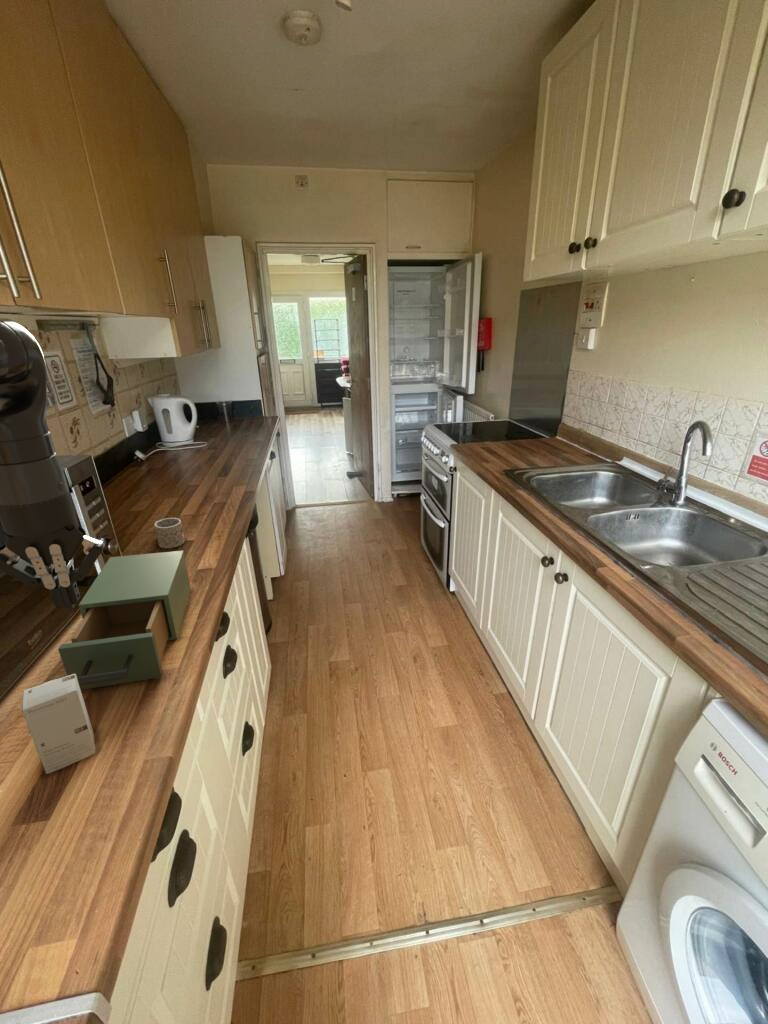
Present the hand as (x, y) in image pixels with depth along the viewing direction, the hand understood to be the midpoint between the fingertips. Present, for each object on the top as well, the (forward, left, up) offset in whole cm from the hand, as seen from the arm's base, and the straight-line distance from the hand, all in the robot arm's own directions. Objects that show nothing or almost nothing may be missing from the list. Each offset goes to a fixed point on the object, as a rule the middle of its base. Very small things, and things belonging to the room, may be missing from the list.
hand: (68, 606), depth 60 cm
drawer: (-6, +9, -20) cm, 23 cm away
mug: (-40, +46, -21) cm, 64 cm away
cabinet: (-15, +20, -21) cm, 32 cm away
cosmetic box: (+3, -6, -21) cm, 22 cm away
